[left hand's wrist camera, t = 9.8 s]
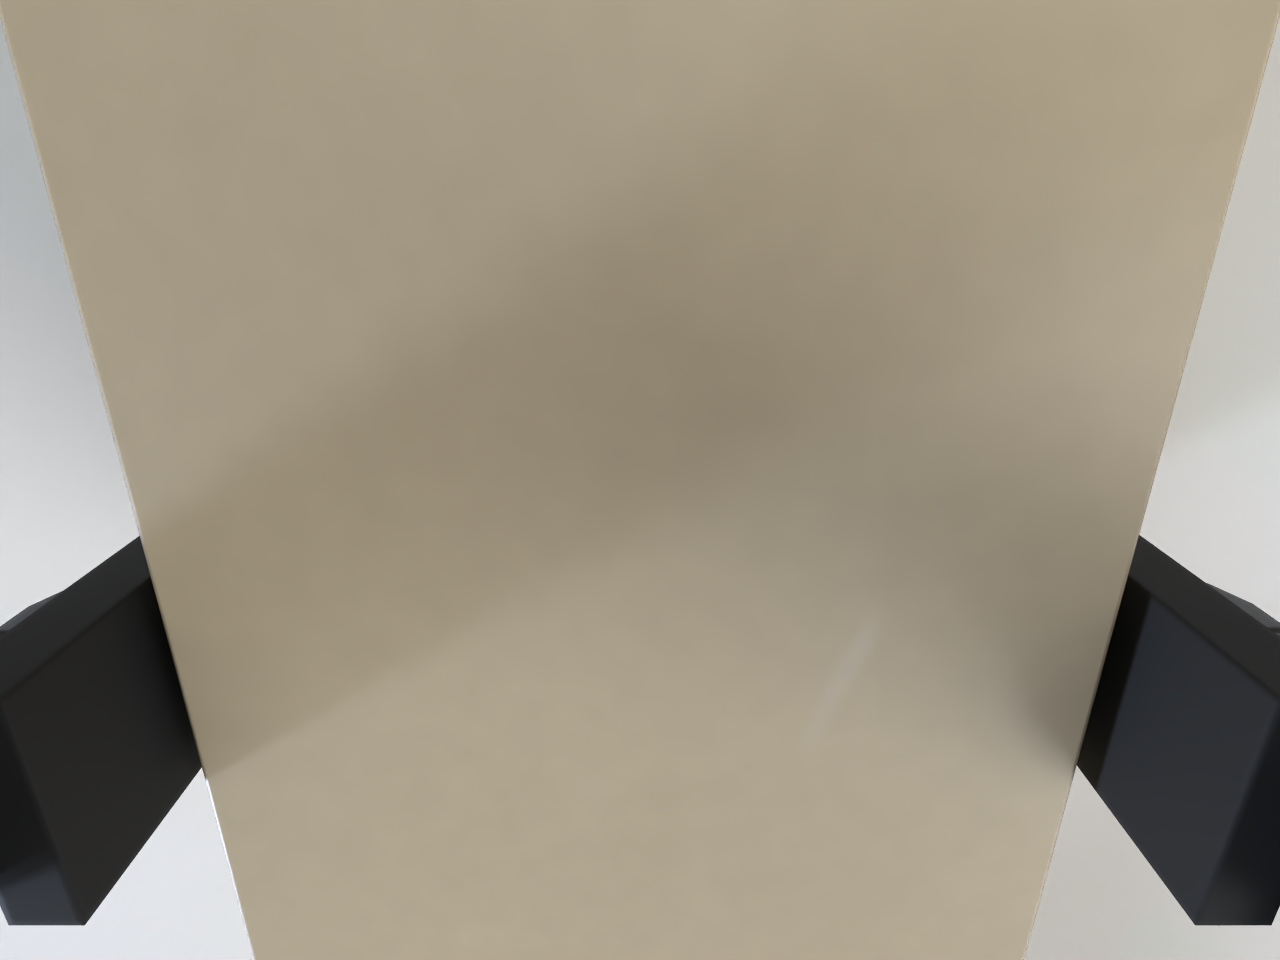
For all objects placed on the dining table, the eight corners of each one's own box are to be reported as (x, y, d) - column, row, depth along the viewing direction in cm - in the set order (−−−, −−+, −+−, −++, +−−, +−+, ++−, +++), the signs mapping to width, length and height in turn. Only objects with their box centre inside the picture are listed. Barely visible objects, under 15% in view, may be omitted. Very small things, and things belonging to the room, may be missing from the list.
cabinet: (312, -401, 12) (-505, -1832, 3) (969, -401, 12) (1789, -1830, 3) (429, 608, 19) (253, 970, 10) (848, 608, 19) (1023, 971, 10)
